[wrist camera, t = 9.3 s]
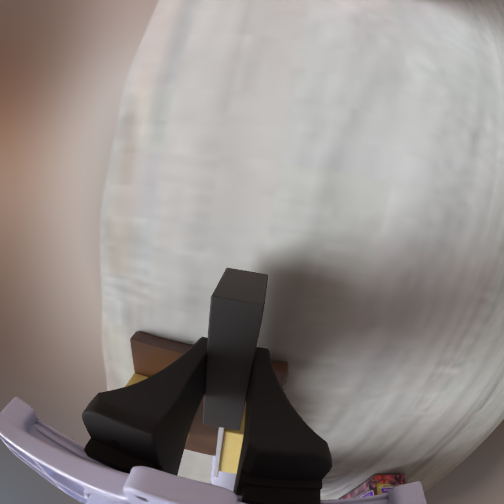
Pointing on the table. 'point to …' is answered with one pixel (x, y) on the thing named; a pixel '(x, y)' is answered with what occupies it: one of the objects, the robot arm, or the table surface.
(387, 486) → the snack box
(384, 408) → the table surface
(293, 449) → the robot arm
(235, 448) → the butter slice
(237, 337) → the knife
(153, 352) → the board
